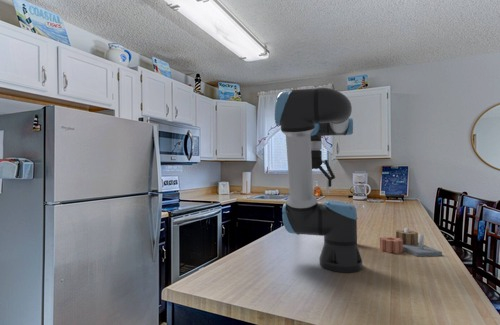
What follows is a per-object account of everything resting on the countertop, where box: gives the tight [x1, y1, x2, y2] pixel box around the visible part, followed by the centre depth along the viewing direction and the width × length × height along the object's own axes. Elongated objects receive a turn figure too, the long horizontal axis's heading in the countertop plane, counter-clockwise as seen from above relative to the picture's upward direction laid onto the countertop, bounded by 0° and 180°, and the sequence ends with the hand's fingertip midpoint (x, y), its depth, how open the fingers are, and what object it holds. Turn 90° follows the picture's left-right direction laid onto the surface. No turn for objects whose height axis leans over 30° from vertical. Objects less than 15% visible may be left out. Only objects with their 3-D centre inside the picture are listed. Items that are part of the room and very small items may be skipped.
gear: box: [379, 236, 404, 254], centre depth 129 cm, size 9×9×5 cm
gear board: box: [395, 227, 443, 257], centre depth 130 cm, size 20×11×8 cm, turn 5°
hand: (313, 193), depth 147 cm, fingers open, 13 cm apart
